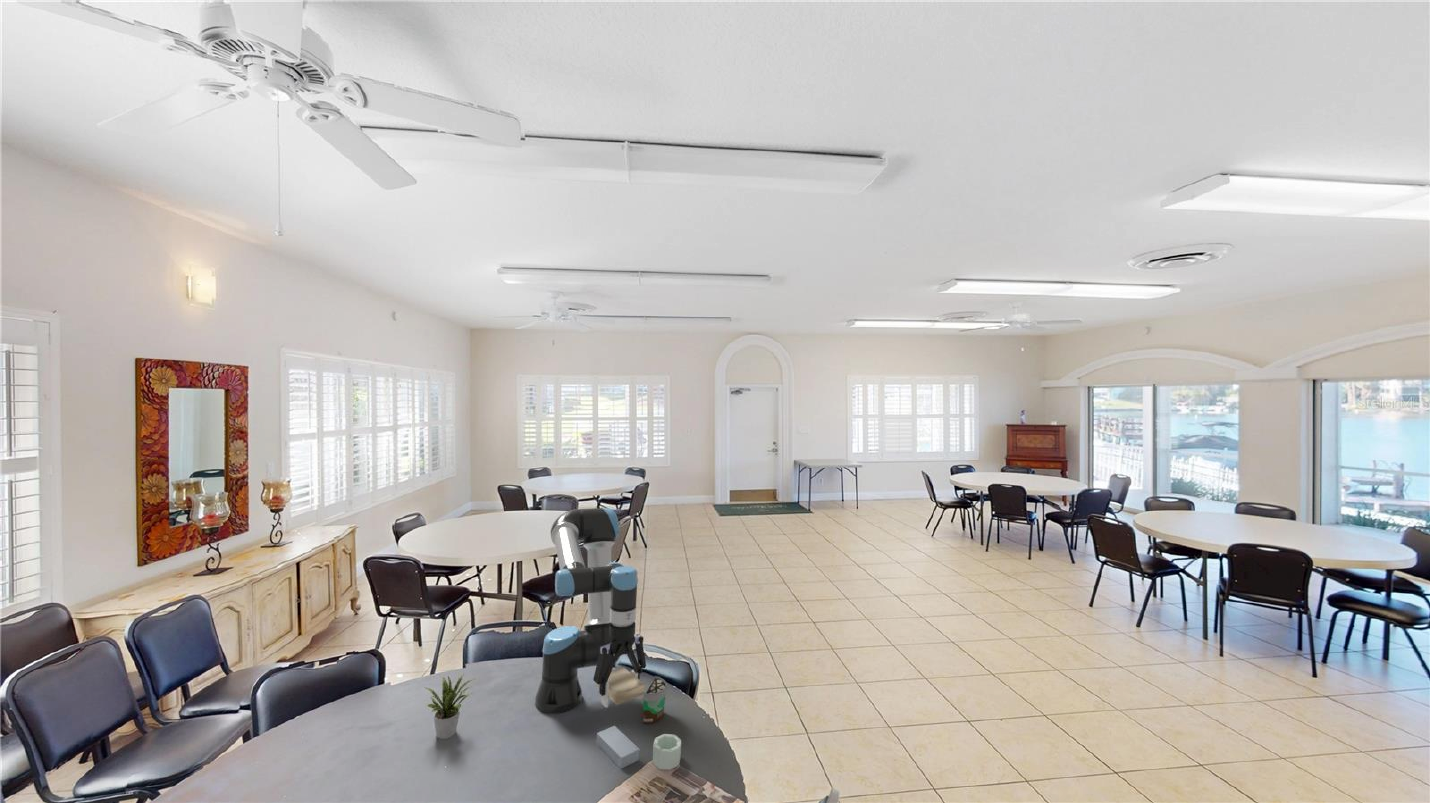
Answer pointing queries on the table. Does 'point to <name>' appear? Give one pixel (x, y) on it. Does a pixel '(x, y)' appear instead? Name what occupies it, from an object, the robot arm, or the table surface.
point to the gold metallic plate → (623, 686)
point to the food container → (654, 701)
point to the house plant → (447, 708)
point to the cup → (666, 751)
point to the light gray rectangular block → (618, 747)
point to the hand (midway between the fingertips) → (619, 699)
